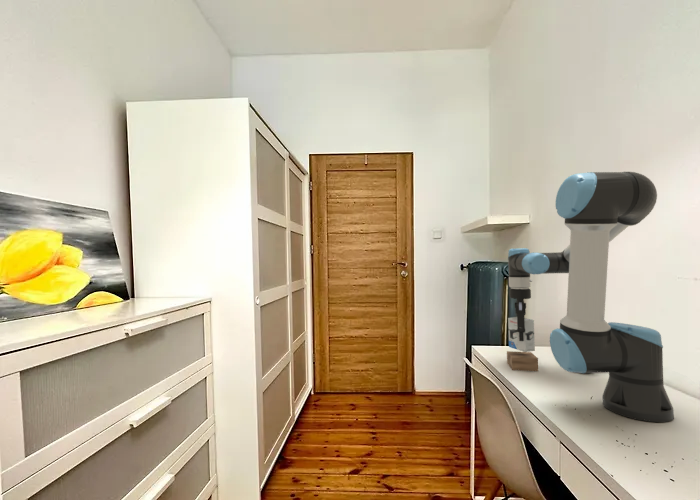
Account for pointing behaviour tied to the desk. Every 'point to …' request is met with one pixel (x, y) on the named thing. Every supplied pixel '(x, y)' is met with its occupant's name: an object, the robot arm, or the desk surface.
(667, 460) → the desk surface
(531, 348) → the ink box
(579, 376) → the desk surface
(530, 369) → the base block
